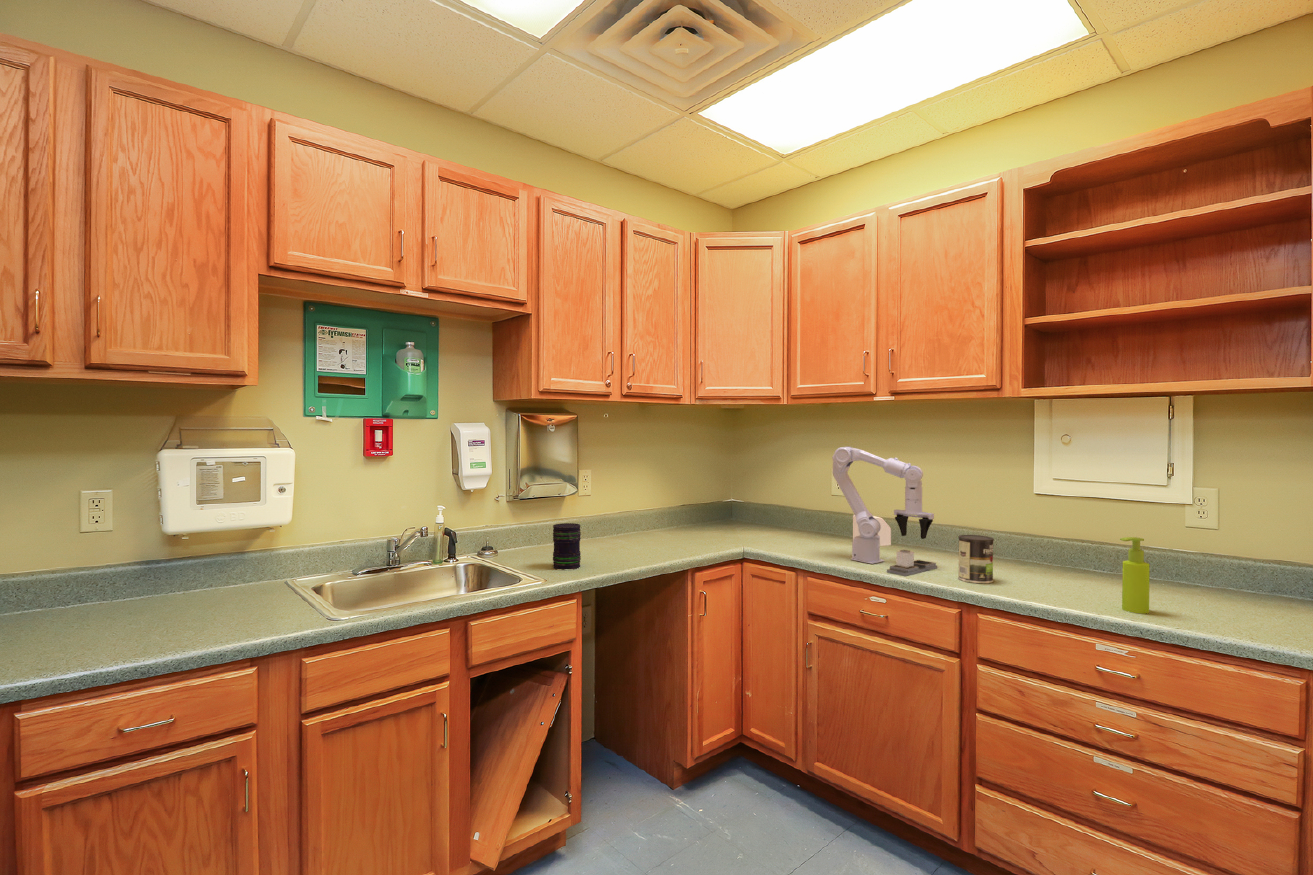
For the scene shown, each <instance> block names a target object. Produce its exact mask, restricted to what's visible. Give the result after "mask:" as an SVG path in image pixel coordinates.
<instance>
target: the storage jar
mask: <svg viewBox="0 0 1313 875" xmlns="http://www.w3.org/2000/svg"><path fill="white" fill-rule="evenodd" d="M552 528H553V529H552V531H553V532H552V541H553V552H552V561H553V562H552V563H553V565H552V568H553V569H555V570H557V569H573V570H576V569H577V568H578V569H580V568H581V560H582V559H581V550H580V547H581V545H580V544H581V539H582V538H581V535H582V532H581V524H580V523H573V522H570V523H569V522H568V523H556V524H553V526H552ZM579 567H580V568H579Z"/></svg>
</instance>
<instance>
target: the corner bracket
mask: <svg viewBox="0 0 1313 875" xmlns="http://www.w3.org/2000/svg"><path fill="white" fill-rule="evenodd" d="M873 517H874V518H875V519H876V520H878V521H879V523H880V526H881V528H880V531H879V532H878V535H879V536H880V547H881V546H883V547H884V546H886V547H887V546H892V542H891V541H892V528H891V527H890V525H889V524H888V523H887V522H886V521H885V519H884V518H883V517H879V516H876V515H873ZM859 535H860V533H859V530H858V524H857V522H856V516H855V514H852V540H853V539H854V538H855V537H856V536H859Z"/></svg>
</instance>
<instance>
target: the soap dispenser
mask: <svg viewBox="0 0 1313 875" xmlns="http://www.w3.org/2000/svg"><path fill="white" fill-rule="evenodd" d="M1119 540H1120V541H1123V542H1131V541H1132V542H1131V543H1132V546H1131V547H1130V548H1129V549H1128V558H1127V560H1123V561H1122V569H1121V570H1122V576H1121V577H1122V581H1121V583H1122V584H1121V585H1122V586H1121V587H1122V588H1121V589H1122V591H1121V593H1122V594H1121V603H1122V604H1121V610H1122V611H1125V612H1128V611H1129V612H1128V613H1132V612H1133V613H1132V614H1141V615H1143V614H1144V615H1145V614H1146V613H1147V614H1149V613H1150V577H1151V576H1150V570H1151V568H1150V566H1151V565H1150V563H1149V562H1146V561H1144V559H1145V551H1144V550H1143V549H1142V548H1141V541H1142V542H1144V541H1145V539H1144V538H1142V537H1137V536H1135V537H1134V536H1126V537H1122V538H1120V539H1119Z"/></svg>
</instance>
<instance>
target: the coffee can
mask: <svg viewBox="0 0 1313 875" xmlns="http://www.w3.org/2000/svg"><path fill="white" fill-rule="evenodd" d="M994 541H995V540H994V537H991V536H987V535H978V534H961V535H958V580H960V581H963V582H966V583H971V584H980V585H981V584H986V585H987V584H992V583H993V582H994Z"/></svg>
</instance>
